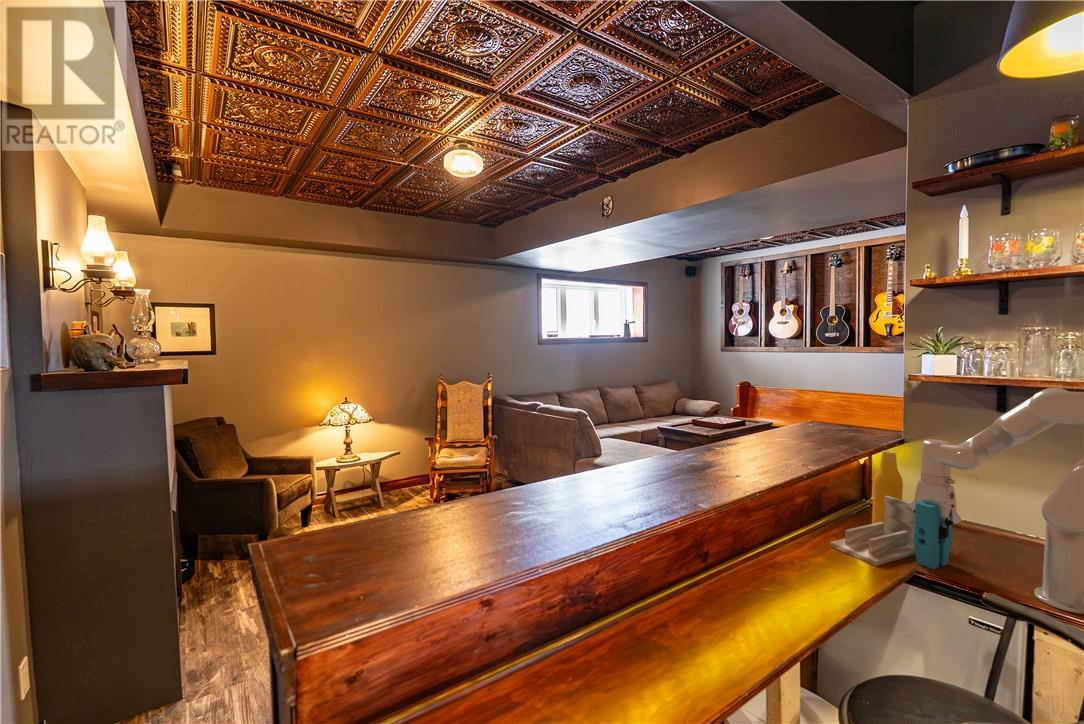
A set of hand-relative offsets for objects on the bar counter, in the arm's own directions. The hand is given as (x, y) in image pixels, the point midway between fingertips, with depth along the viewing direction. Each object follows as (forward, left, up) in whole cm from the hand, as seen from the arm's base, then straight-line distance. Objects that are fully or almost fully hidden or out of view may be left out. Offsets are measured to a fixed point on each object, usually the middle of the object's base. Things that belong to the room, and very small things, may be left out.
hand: (933, 534), depth 162 cm
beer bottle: (+25, -16, -10) cm, 31 cm away
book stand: (+14, +6, -9) cm, 18 cm away
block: (0, 0, -10) cm, 10 cm away
